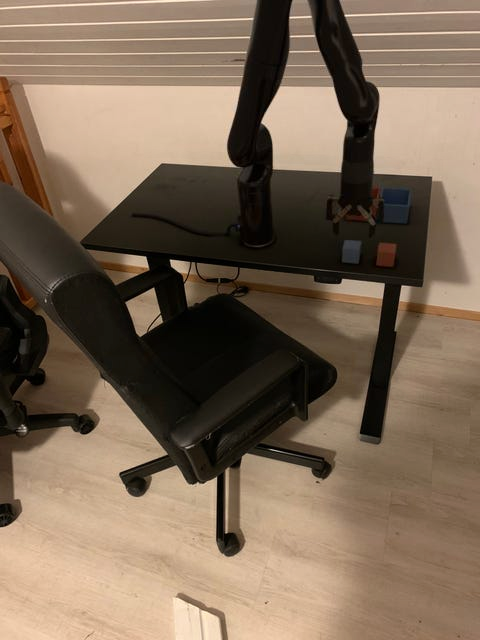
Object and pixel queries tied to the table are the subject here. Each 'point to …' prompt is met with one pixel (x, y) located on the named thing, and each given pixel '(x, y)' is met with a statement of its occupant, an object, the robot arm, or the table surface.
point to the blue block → (351, 251)
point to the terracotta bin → (375, 195)
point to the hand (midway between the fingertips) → (353, 235)
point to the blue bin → (396, 204)
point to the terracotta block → (386, 254)
